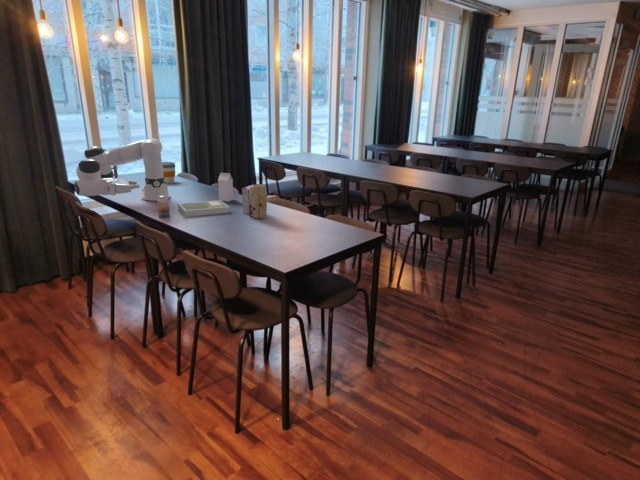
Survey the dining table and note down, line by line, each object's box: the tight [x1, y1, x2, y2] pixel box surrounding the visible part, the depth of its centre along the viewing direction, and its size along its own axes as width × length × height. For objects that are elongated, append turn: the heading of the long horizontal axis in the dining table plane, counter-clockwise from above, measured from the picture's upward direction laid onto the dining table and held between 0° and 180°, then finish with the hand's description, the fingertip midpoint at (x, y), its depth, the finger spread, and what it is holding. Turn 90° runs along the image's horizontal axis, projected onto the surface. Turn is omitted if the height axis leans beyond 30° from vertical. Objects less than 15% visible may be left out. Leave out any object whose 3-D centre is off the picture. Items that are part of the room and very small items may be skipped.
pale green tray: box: [177, 199, 231, 220], centre depth 254 cm, size 18×26×4 cm
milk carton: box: [217, 172, 234, 203], centre depth 280 cm, size 7×7×19 cm
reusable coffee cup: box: [162, 161, 176, 184], centre depth 331 cm, size 13×13×15 cm
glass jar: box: [156, 194, 171, 219], centre depth 242 cm, size 6×6×12 cm
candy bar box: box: [241, 184, 255, 215], centre depth 254 cm, size 11×5×16 cm, turn 160°
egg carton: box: [208, 200, 223, 208], centre depth 257 cm, size 10×6×4 cm, turn 30°
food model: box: [252, 183, 268, 220], centre depth 245 cm, size 10×7×20 cm
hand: (137, 184), depth 231 cm, fingers open, 8 cm apart
